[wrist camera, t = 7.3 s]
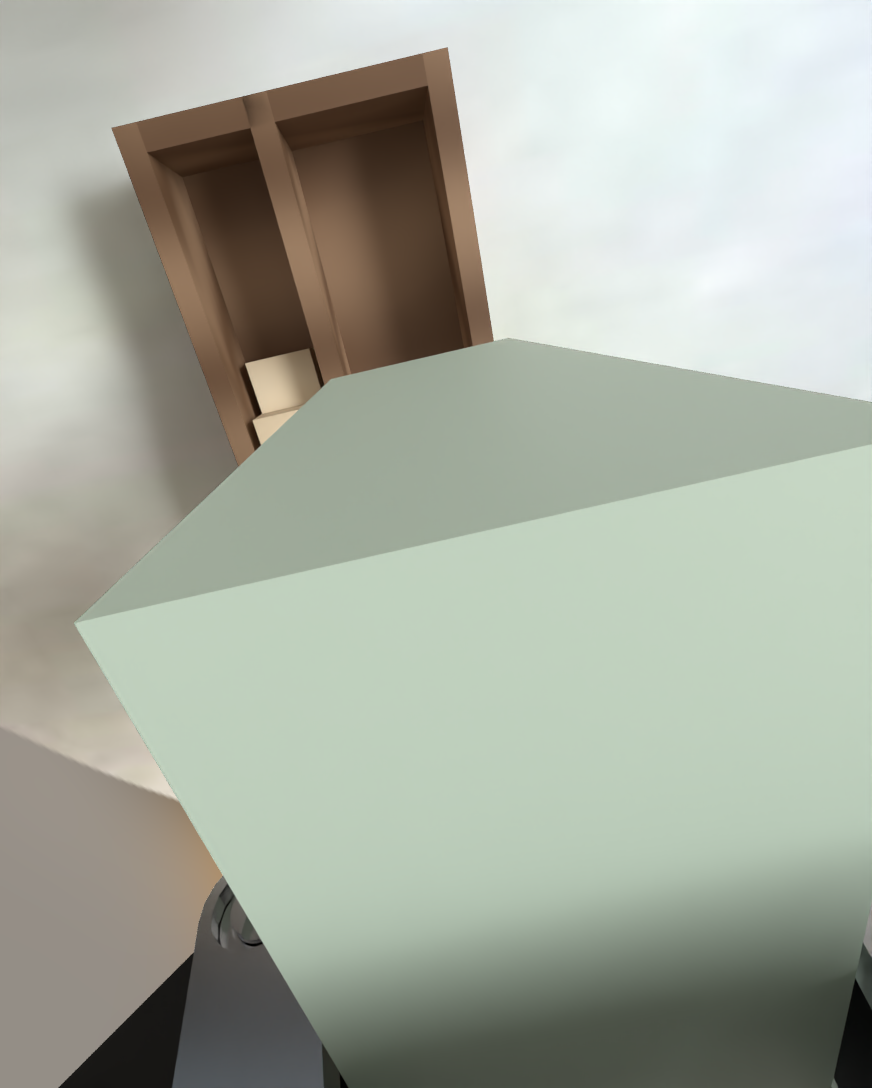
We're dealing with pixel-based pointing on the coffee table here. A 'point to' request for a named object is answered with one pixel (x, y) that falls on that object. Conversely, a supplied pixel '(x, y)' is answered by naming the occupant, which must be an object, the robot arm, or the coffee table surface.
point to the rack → (315, 226)
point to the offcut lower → (285, 379)
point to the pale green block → (531, 716)
